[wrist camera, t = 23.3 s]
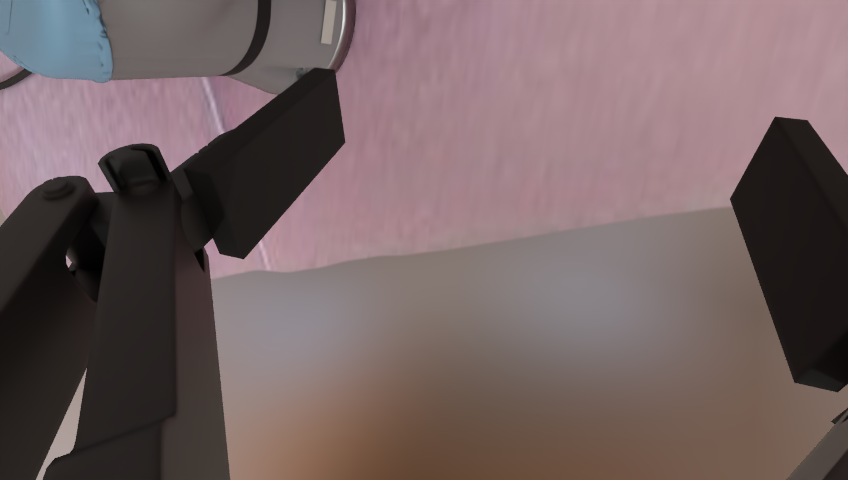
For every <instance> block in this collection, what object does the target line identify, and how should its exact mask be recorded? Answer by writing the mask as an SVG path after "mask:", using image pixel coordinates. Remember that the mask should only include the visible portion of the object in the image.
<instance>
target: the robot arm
mask: <svg viewBox="0 0 848 480" xmlns="http://www.w3.org/2000/svg"><path fill="white" fill-rule="evenodd" d="M355 15H356V3H355V0H0V50H1V51H2V52H3V53H4V54H5V55H6V56H7V57H8V58H9V59H11V60H12V61H13V62H15V63H16V64H18V65H19V66H21V67H23V68H25V69H24V70H22V71H21V72H20V73H18V74H16V75H15V76H13V77H11V78H10V79H8V80H6V81H4V82H1V83H0V90H1V89H5V88H7V87H9V86H12V85H13V84H15V83H17V82H19V81H21V80H22V79H24V78H25V77H27V76H28V75H30V74H31V73H32V72H33V73H36V74H40V75H42V76H46V77H50V78H59V79H82V80H92V81H95V82H98V83H104V82H108V81H110V80H127V79H151V78H176V77H206V76H228V77H230V78H233V79H235V80H238V81H240V82H243V83H245V84H248V85H250V86H253V87H256V88H258V89H260V90H263V91H265V92H268V93H272V94H277V95H278V96H277V97H275V98H274V99H273V100H271V101H270V102H269V103H268V104H266V105H265V106H264V107H262V108H261V109H260V110H258V111H257V112H256V113H255V114H253V115H252V116H251V117H249V118H248V119H247V120H245V121H244V122H243V123H242V124H240V125H239V126H238V127H236V128H235V129H233V130H230V131H228V132H226V133H223V134H221V135H219V136H218V137H217V138H215V139H214V140H213V141H211V142H210V143H209V144H208V146H205V147H203V148H202V149H201V150H199V153H195V154H194V155H193V156H191V157H190V158H189V159H187V160H186V161H185V162H183V163H182V164H181V165H180V166H178V167H177V168H176V169H174V170H173V171H172V172H169V170H168V168H167V165H166V163H165V161H164V159H163V157H162V155H161V152H160V150H159V148H158V147H157V146H154V145H152V144H143V143H142V144H132V145H128V146H124V147H120V148H118V149H116V150H113V151H111V152H109V153H108V154H106V155H105V156H103V157H102V158H101V159H100V161H99V162H98V165H99V167H100V168H101V170H102V172H103V174H104V175H105V177H106V179H107V181H108V182H109V184H110V186H111V187H112V189H113V191H114V192H101V193H95V192H94V190H93V189H92V187H91V185H90V184H89V182H88V181H87V179H86V178H84V177H81V176H66V177H57V178H53V180H52V179H50V180H48V181H46V182H44V183H43V184H41V185H40V186H38V187H36V188H35V189H33V190H32V191H31V192H30V193H29V194H28V195H27V196H26V197H25V198H24V200H23V201H22V202H21V203H20V204H19V206H18V207H17V208H16V209H15V210H14V211H13V213H12V214H11V215H10V216H9V217H8V218H7V220H6V221H5V222H4V223H3V224H2V225H1V227H0V480H36V478H37V476H38V473H39V471H40V469H41V467H42V465H43V462H44V460H45V458H46V456H47V454H48V451H49V449H50V447H51V445H52V443H53V440H54V438H55V436H56V434H57V432H58V429H59V427H60V425H61V423H62V421H63V419H64V416H65V414H66V412H67V410H68V407H69V405H70V403H71V401H72V399H73V396H74V394H75V392H76V390H77V387H78V386H79V383H80V381H81V379H82V376H83V375H84V372H85V370H86V368H87V372H86V378H85V385H84V391H83V398H82V404H81V411H80V417H79V423H78V429H77V436H76V441H75V445H74V448H73V450H72V451H71V452H70V453H69V454H66V455H63V456H61V457H58V458H55V459H54V460H53V461H52V462H51V464H50V465H49V466H48V467H47V469H46V472H45V475H44V477H43V480H230V473H229V463H228V453H227V443H226V434H225V433H226V432H225V422H224V412H223V402H222V392H221V381H220V371H219V362H218V351H217V341H216V331H215V321H214V310H213V300H212V291H211V279H210V269H209V259H208V255H207V253H206V250H205V248H204V246H205V245H206V244H207V243H208V242H209V241H210V240H211V239H212V238H213V239H214V242H215V244H216V246H217V248H218V251H219V253H220V254H223V255H227V256H231V257H236V258H240V259H244V258H245V257H246V256H247V255H248V254H249V253H250V252H251V250H252V249H253V248H254V247H255V246H256V245H257V244H258V242H259V241H260V240H261V239H262V238H263V237H264V235H265V234H266V233H267V232H268V231H269V230H270V229H271V227H272V226H273V225H274V224H275V223H276V222H277V221H278V219H279V218H280V217H281V216H282V215H283V214H284V212H285V211H286V210H287V209H288V208H289V207H290V206H291V204H292V203H293V202H294V201H295V200H296V199H297V198H298V196H299V195H300V194H301V193H302V192H303V191H304V189H305V188H306V187H307V186H308V185H309V184H310V183H311V181H312V180H313V179H314V178H315V177H316V176H317V174H318V173H319V172H320V171H321V170H322V169H323V168H324V166H325V165H326V164H327V163H328V162H329V161H330V160H331V158H332V157H333V156H334V155H335V154H336V153H337V151H338V150H339V149H340V148H341V147H342V146H343V145H344V143H345V137H344V130H343V123H342V116H341V109H340V102H339V95H338V88H337V81H336V74H335V73H336V72H337V71H338V69H339V68H340V66H341V65H342V63H343V61H344V59H345V57H346V55H347V53H348V50H349V48H350V44H351V41H352V37H353V33H354V26H355ZM730 200H731V203H732V206H733V209H734V212H735V215H736V217H737V220H738V223H739V226H740V229H741V231H742V234H743V237H744V240H745V243H746V246H747V248H748V251H749V254H750V257H751V260H752V263H753V266H754V269H755V271H756V274H757V277H758V280H759V283H760V286H761V289H762V291H763V294H764V297H765V300H766V303H767V305H768V308H769V311H770V314H771V317H772V320H773V323H774V325H775V328H776V331H777V334H778V337H779V340H780V342H781V345H782V348H783V351H784V354H785V357H786V360H787V362H788V365H789V368H790V371H791V374H792V377H793V379H794V382H795V383H799V384H804V385H808V386H813V387H817V388H821V389H826V390H830V391H835V392H839V391H840V390H841V389H842V388H843V387H845V385H847V384H848V175H847V174H846V172H845V171H844V170H843V168H842V167H841V165H840V164H839V163H838V161H837V160H836V159H835V157H834V156H833V155H832V153H831V152H830V150H829V149H828V148H827V146H826V145H825V144H824V142H823V141H822V140H821V138H820V137H819V135H818V134H817V133H816V131H815V130H814V129H813V127H812V126H811V124H810V123H809V122H808V120H800V119H791V118H782V117H775V118H774V120H773V121H772V123H771V125H770V127H769V129H768V130H767V132H766V134H765V136H764V138H763V140H762V141H761V143H760V145H759V147H758V149H757V151H756V152H755V154H754V156H753V158H752V160H751V162H750V163H749V165H748V167H747V169H746V171H745V172H744V174H743V176H742V178H741V180H740V182H739V183H738V185H737V187H736V189H735V191H734V193H733V194H732V196H731V198H730ZM66 255H67V257H68V258H69V259H70V261H71V262H72V263H71V265H70V267H69V268H68V266H67V264H66ZM831 422H833V423H834V424H835V425H834V426H833V427H832V429H831V430H830V431H829V432H828V433H827V434H826V436H825V437H824V438H823V439H822V440H821V441H820V442H819V443H818V444H817V446H816V447H815V448H814V449H813V450H812V451H811V452H810V454H809V455H808V456H807V457H806V458H805V459H804V460H803V461H802V462H801V464H800V465H799V466H798V467H797V468H796V469H795V470H794V472H793V473H792V474H791V475H790V476H789V477H788V478H787V479H786V480H848V408H847V409H846V410H845V411H843V412H842V413H841V414H840V415H838V416H837V417H836V418H835V419H833V420H832V421H831Z"/></svg>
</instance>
